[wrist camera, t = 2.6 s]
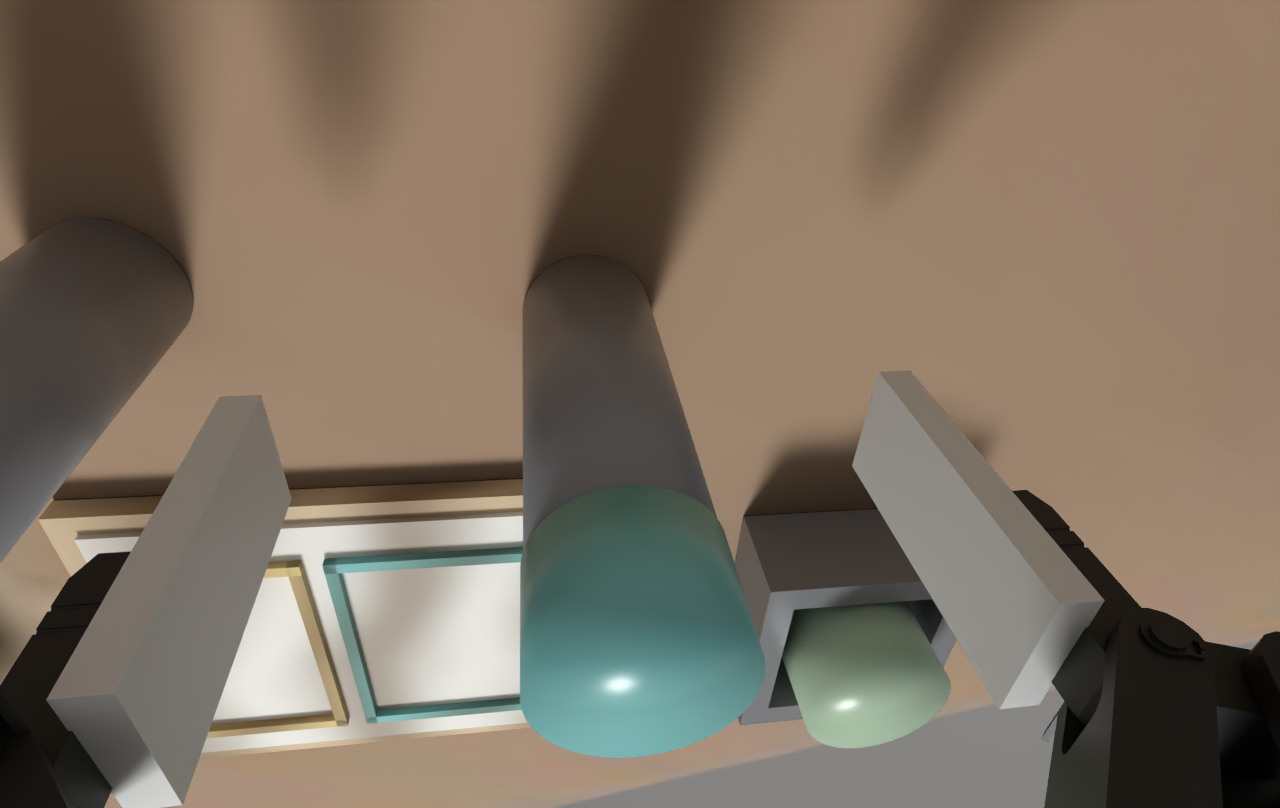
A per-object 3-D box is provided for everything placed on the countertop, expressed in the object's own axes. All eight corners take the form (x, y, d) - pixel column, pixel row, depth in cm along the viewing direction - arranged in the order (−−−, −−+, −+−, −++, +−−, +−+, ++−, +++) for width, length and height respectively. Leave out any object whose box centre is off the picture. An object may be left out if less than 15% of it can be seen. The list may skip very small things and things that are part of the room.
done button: (917, 564, 26) (970, 653, 23) (883, 651, 29) (926, 740, 26) (785, 573, 26) (821, 666, 22) (763, 661, 28) (793, 754, 25)
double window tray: (644, 473, 24) (649, 499, 23) (627, 701, 32) (631, 729, 31) (52, 501, 22) (28, 531, 21) (184, 741, 29) (171, 773, 28)
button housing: (937, 505, 27) (986, 576, 24) (887, 633, 31) (924, 707, 28) (743, 516, 26) (770, 592, 23) (719, 647, 30) (739, 725, 27)
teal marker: (654, 253, 20) (784, 597, 10) (646, 368, 22) (747, 745, 12) (517, 253, 19) (513, 617, 10) (523, 371, 21) (524, 767, 12)
